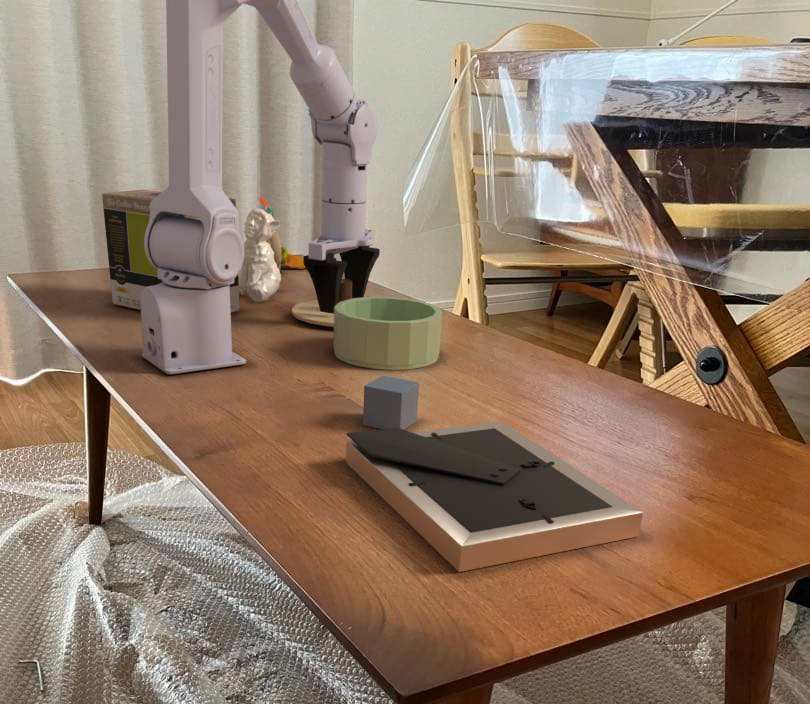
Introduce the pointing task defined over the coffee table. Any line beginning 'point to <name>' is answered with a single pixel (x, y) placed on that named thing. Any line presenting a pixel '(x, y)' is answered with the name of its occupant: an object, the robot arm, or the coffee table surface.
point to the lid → (312, 311)
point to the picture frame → (488, 493)
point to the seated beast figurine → (259, 257)
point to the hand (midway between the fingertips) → (341, 306)
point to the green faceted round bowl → (387, 332)
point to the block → (390, 403)
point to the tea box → (135, 246)
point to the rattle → (281, 252)
